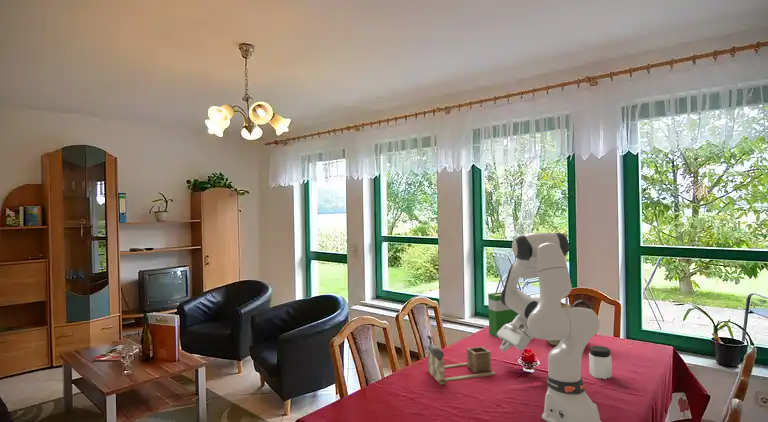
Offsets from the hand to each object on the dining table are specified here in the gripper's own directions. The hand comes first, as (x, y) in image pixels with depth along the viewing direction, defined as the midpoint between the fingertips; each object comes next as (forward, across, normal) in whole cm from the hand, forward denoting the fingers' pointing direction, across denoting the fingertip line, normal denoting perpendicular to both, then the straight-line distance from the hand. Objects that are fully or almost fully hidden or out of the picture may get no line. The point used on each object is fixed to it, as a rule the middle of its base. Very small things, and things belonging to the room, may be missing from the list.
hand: (501, 350), depth 209 cm
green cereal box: (-14, -52, +28) cm, 61 cm away
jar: (-20, +20, +33) cm, 43 cm away
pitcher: (-29, -26, +42) cm, 57 cm away
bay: (+21, 0, -8) cm, 23 cm away
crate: (+14, 0, -3) cm, 14 cm away
